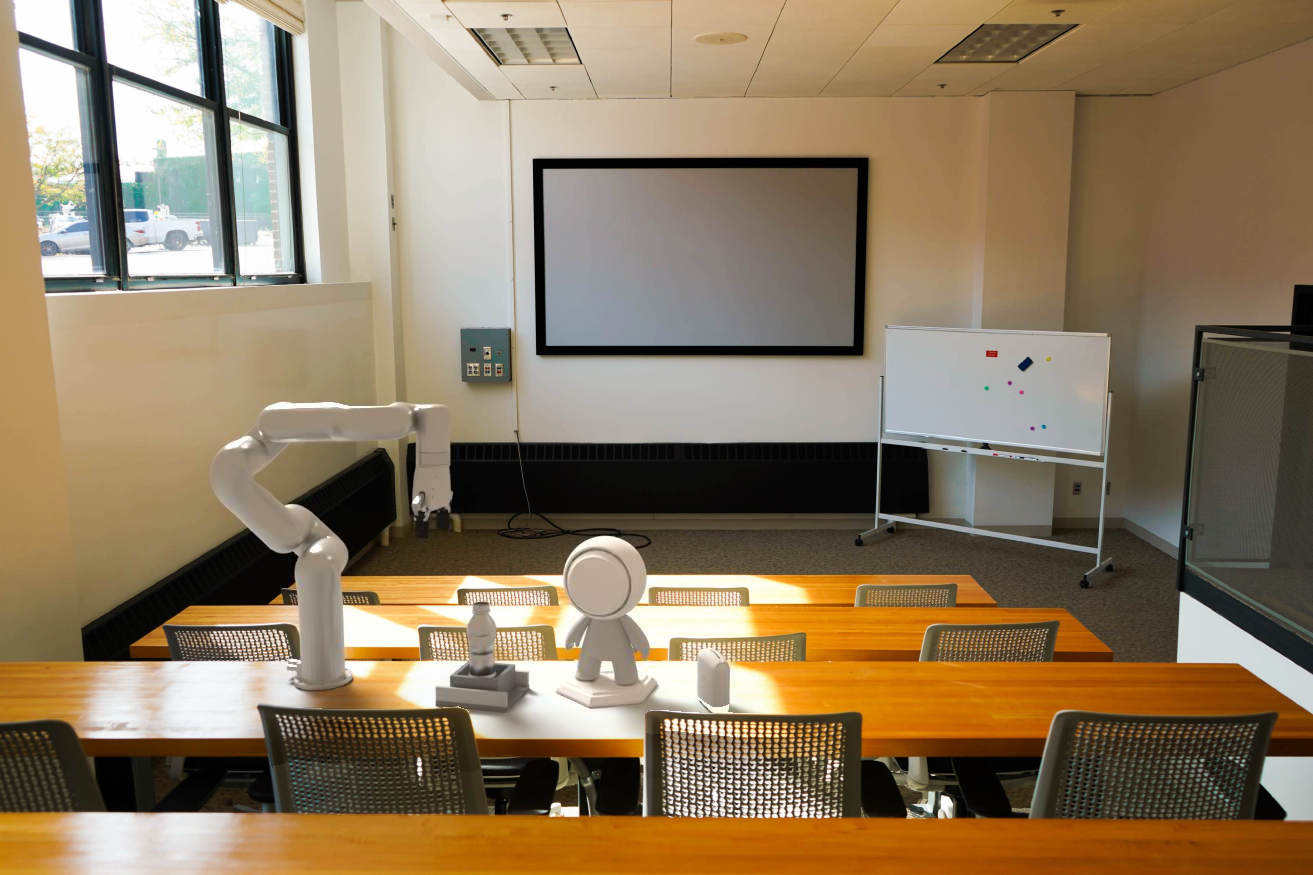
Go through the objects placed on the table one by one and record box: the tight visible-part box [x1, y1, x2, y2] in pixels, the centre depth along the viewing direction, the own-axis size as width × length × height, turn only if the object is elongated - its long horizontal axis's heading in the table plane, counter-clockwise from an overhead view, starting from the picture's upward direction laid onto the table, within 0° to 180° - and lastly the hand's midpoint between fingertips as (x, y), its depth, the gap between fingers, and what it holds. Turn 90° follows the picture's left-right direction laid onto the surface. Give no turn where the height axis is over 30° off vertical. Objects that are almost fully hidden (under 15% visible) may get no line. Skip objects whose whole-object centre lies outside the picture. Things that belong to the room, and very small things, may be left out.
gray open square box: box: [435, 659, 530, 713], centre depth 212 cm, size 16×14×6 cm
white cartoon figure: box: [555, 535, 658, 709], centre depth 215 cm, size 20×23×35 cm
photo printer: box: [696, 647, 731, 707], centre depth 207 cm, size 10×4×12 cm, turn 20°
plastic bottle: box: [466, 601, 497, 678], centre depth 211 cm, size 6×7×20 cm
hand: (432, 533), depth 221 cm, fingers open, 9 cm apart
